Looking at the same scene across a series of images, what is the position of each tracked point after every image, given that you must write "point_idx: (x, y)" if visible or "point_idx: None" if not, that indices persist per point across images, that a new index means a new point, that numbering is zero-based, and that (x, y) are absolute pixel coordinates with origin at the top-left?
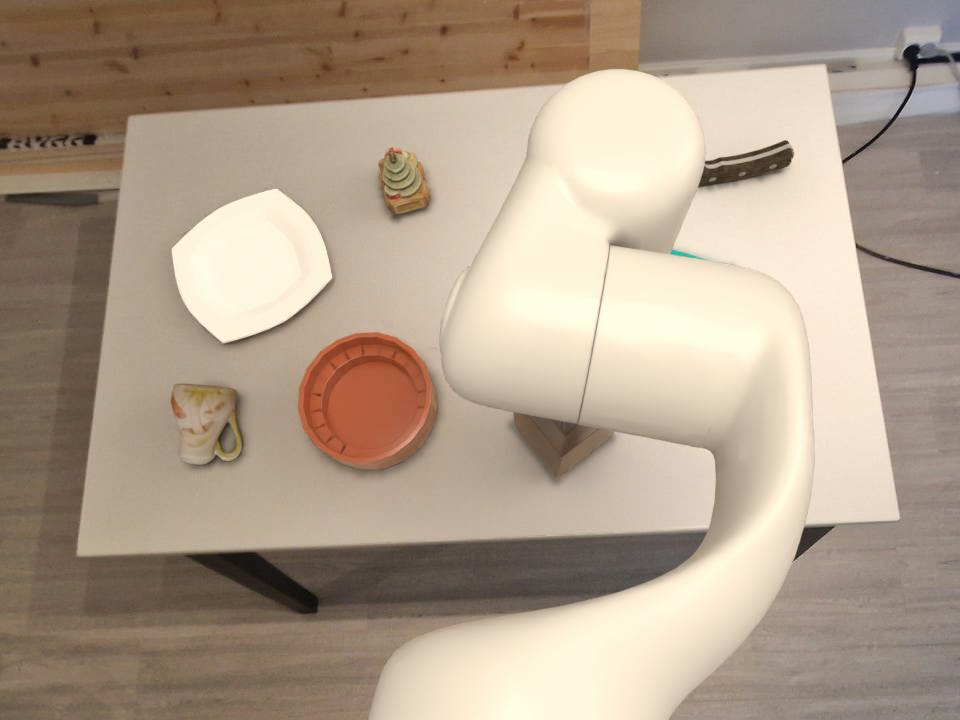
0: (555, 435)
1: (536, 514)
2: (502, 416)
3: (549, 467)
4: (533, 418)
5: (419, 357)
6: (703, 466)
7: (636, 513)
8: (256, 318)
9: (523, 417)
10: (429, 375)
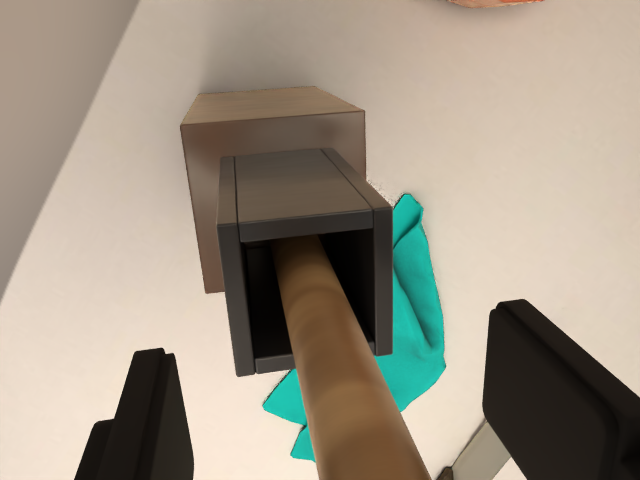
0: (231, 140)
1: (160, 25)
2: (338, 76)
3: (219, 93)
4: (290, 121)
5: (522, 1)
6: (102, 295)
7: (82, 172)
8: None
9: (309, 104)
10: (478, 1)
